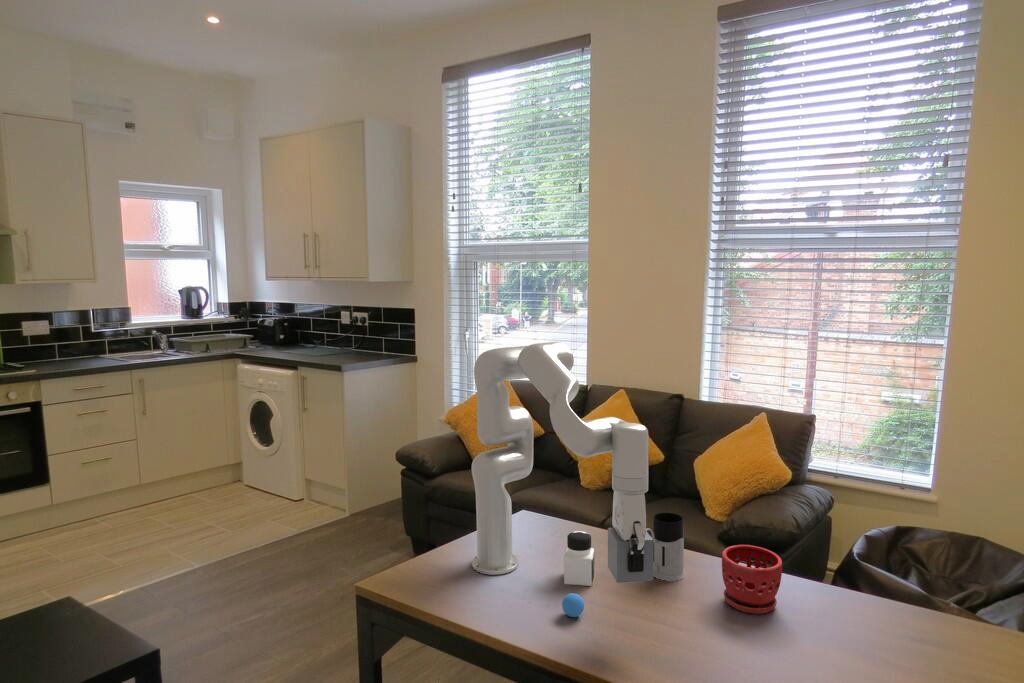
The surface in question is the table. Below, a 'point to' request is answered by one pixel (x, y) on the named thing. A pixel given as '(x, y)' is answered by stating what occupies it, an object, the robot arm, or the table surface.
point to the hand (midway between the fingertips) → (629, 562)
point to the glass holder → (668, 546)
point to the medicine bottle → (579, 559)
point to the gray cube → (620, 558)
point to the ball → (573, 605)
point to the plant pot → (751, 578)
